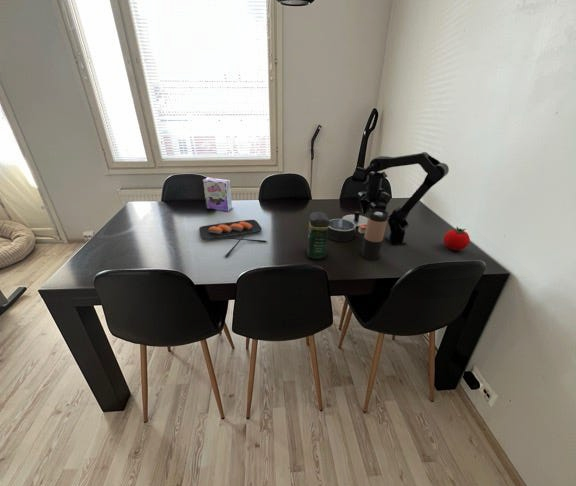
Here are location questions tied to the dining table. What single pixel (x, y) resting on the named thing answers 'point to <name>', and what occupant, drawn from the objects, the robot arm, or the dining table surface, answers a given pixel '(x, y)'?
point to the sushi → (362, 229)
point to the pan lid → (356, 219)
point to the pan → (341, 230)
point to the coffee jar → (317, 235)
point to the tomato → (456, 239)
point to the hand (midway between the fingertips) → (368, 217)
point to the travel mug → (374, 233)
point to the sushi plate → (230, 230)
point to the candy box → (217, 194)
